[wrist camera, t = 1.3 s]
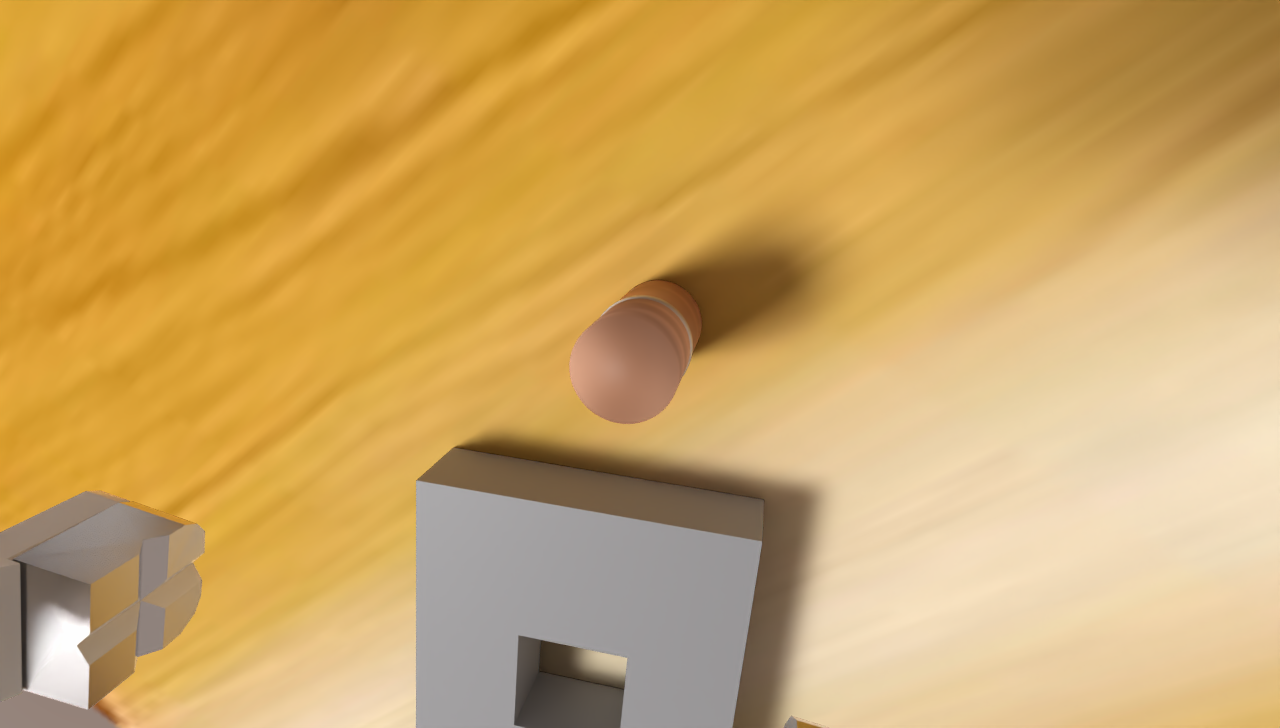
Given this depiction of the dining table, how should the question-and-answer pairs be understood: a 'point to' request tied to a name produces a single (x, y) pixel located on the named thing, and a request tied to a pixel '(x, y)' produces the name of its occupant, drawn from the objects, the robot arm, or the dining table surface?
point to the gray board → (578, 595)
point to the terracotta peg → (636, 352)
